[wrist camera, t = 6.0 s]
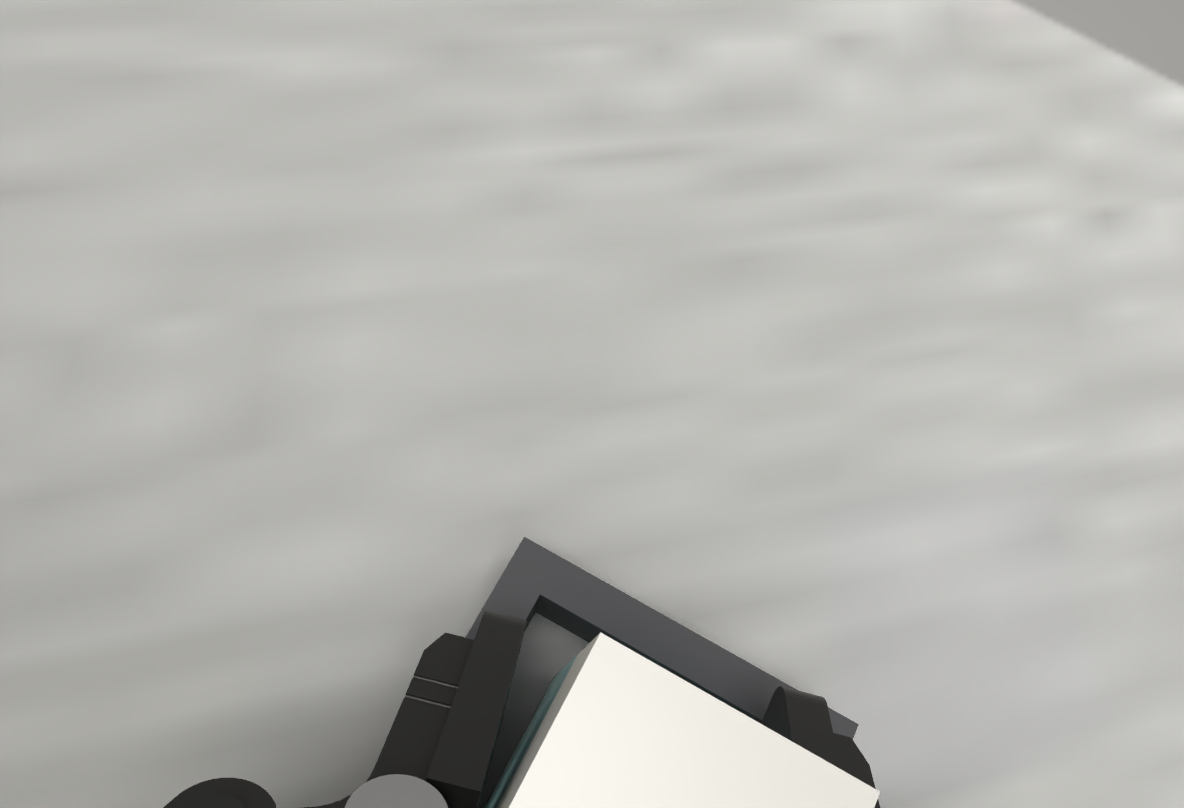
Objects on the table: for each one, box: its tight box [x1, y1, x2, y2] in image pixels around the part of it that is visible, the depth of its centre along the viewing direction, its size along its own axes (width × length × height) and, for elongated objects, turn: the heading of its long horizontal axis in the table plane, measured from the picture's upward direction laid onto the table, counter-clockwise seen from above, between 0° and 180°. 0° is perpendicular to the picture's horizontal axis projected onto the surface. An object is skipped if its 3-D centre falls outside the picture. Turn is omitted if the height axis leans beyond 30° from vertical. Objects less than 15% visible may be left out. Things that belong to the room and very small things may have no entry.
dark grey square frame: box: [466, 537, 858, 740], centre depth 16 cm, size 7×7×2 cm
